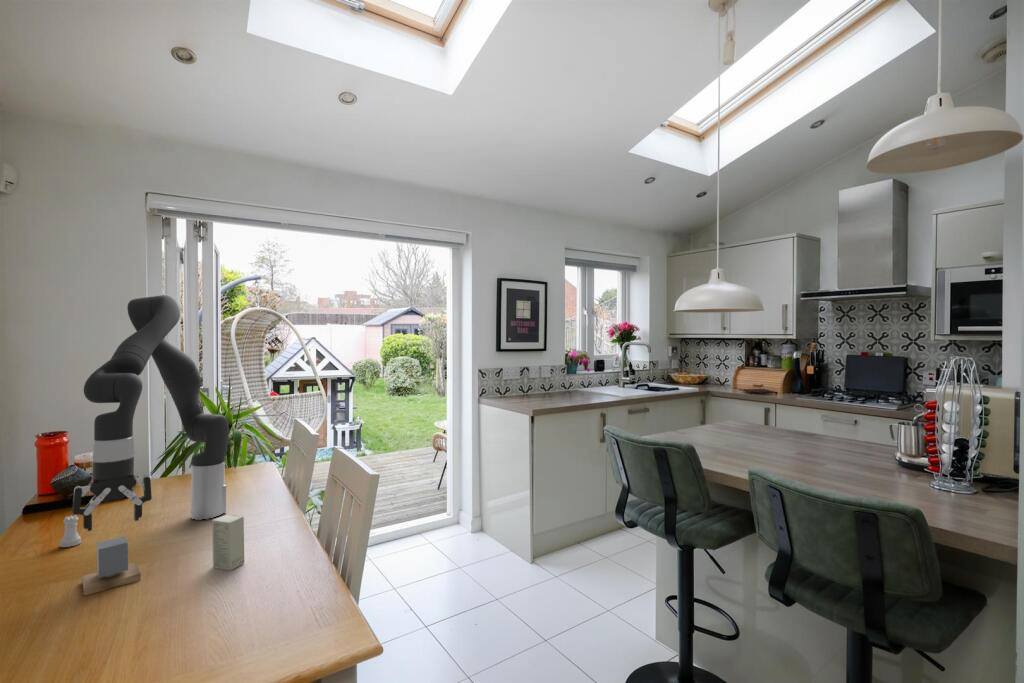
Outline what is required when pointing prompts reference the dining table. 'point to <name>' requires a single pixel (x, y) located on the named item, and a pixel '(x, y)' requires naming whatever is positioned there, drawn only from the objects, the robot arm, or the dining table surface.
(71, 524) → the rook chess piece
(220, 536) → the skincare box
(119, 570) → the blue-grey rectangular block
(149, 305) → the robot arm
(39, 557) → the dining table surface
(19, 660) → the dining table surface
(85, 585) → the wooden stand with post
